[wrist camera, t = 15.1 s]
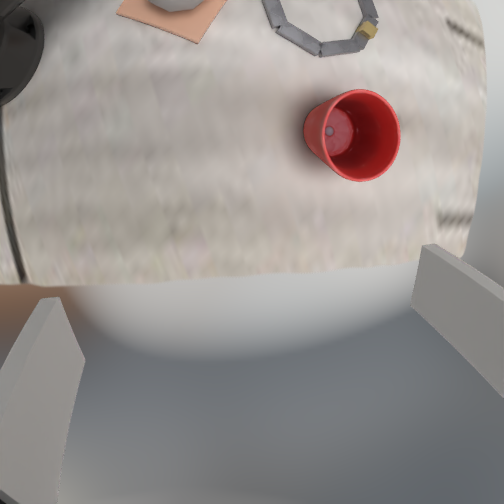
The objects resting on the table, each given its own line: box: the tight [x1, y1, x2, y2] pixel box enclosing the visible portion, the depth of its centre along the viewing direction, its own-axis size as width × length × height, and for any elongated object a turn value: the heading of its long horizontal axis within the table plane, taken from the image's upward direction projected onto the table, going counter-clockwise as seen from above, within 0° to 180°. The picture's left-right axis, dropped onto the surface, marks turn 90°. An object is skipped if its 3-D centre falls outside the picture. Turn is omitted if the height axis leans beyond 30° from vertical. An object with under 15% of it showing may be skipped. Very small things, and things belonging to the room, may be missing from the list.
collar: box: [262, 0, 379, 57], centre depth 31 cm, size 17×17×2 cm
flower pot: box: [303, 89, 400, 182], centre depth 36 cm, size 11×11×10 cm
